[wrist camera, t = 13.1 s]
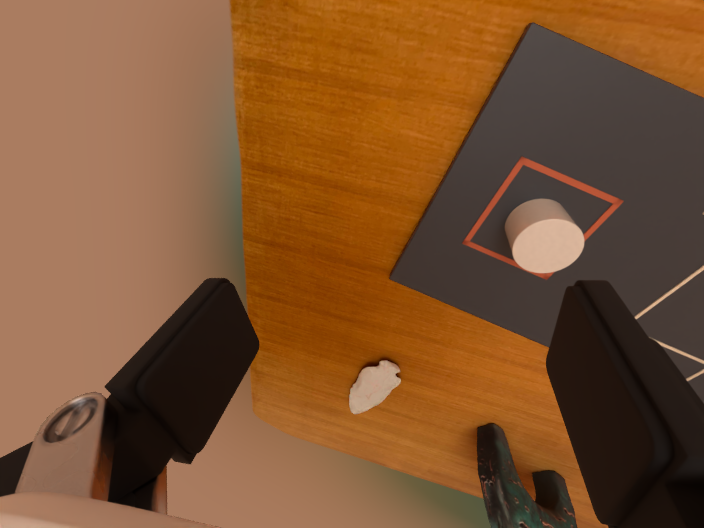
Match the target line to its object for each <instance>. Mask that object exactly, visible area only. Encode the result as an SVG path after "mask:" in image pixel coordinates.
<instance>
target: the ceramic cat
mask: <svg viewBox="0 0 704 528" xmlns="http://www.w3.org/2000/svg"><path fill="white" fill-rule="evenodd" d="M477 456H478V457H477V461H478V475H479V478H480V482H481V487H482V493H483V498H484V502H485V507H486V511H487V515H488V519H489V522H490V525H491V528H577V524H576V519H575V512H574V508H573V506H572V503H571V500H570V497H569V494H568V490H567V487H566V483H565V480H564V478H562V477H561V476H560V475H559V474H558V473H556V472H555V471H550V470H548V471H541V472H536V473H532V477H533V481H534V486H535V493H536V499H535V501H534V500H533V499H532V497H531V496H530V495H529V493H528V492H527V491H526V489H525V488H524V486H523V484H522V482H521V480H520V478H519V476H518V474H517V471H516V468H515V466H514V462H513V459H512V455H511V453H510V449H509V446H508V442H507V439H506V437H505V434H504V431H503V430H502V429H501V428H500V427H499V426H497V425H495V424H493V423H492V424H488V425H486V426H482V427H478V430H477Z"/></svg>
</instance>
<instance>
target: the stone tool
mask: <svg viewBox="0 0 704 528" xmlns="http://www.w3.org/2000/svg"><path fill="white" fill-rule="evenodd" d="M379 363H380V364H379V366H376V367H366V368H364V369H363V370H362V371H361V373H360V374H359V377H358V379H357V381H356V383H355V384H353V388H350V395H349V399H350V400H349V403H350V404H349V406H350V410H351V412H352V413H354V414H359V413H362V412H364V411H368V410H369V409H370V408H373V407H374V406H376V405H378V404H380V403H381V402H382V401H383V400H384V399H385V398H386V397H387V396H388V394H390V392H391V390H392V389H394V388H395V387H396V386H398V385H399V384H400V382H401V379H400V378H398V377H397V376H396V375H395V374H396V373H398V372H400V369H399V367H398V366H397V365H396V364H394V363H391V362H389V361H387V360H385V361H380V362H379Z"/></svg>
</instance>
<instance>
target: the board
mask: <svg viewBox="0 0 704 528" xmlns="http://www.w3.org/2000/svg"><path fill="white" fill-rule="evenodd" d="M534 199H550V200H554V201H556V202H558V203H560V204H561V205H562V206H563V207H564V208H565V209H566V211H567V212H568V213H569V215H570V216H571V217H572V219H573V220H574V221H575V223H576V224H577V225H578V227H579V228H580V229H581V231H582V233H583V235H584V248H583V250H582V252H581V254H580V256H579V257H578V258H577V259H576V260H575V261H574V262H573V263H572V264H570V265H569V266H567V267H565V268H564V269H561V270H559V271H555V272H551V273H534V272H530V271H527V270H525V269H523V268H522V267H520V266H519V265H518V264H517V263H516V261H515V260H514V258H513V255H512V252H511V249H510V246H509V243H508V240H507V237H506V234H505V223H506V220H507V218H508V216H509V215H510V213H511V212H512V211H513V210H514V209H515V208H516V207H518V206H519V205H521V204H523V203H525V202H527V201H530V200H534ZM389 279H390V280H393V281H395V282H397V283H400V284H402V285H404V286H407V287H409V288H411V289H414V290H416V291H418V292H421V293H423V294H425V295H428V296H430V297H432V298H435V299H437V300H439V301H442V302H444V303H446V304H449V305H451V306H453V307H456V308H458V309H460V310H463V311H465V312H468V313H470V314H472V315H475V316H477V317H479V318H482V319H484V320H486V321H489V322H491V323H493V324H496V325H498V326H500V327H503V328H505V329H507V330H510V331H512V332H514V333H517V334H519V335H521V336H524V337H526V338H528V339H531V340H533V341H535V342H538V343H540V344H542V345H545V346H547V347H550V344H551V340H552V336H553V333H554V329H555V326H556V322H557V318H558V315H559V311H560V308H561V304H562V300H563V297H564V293H565V290H566V288H567V287H568V286H574V284H575V282H576V281H578V280H606V281H608V282H609V283H610V284H611V285H612V287H613V288H614V289H615V291H616V292H617V294H618V295H619V296H620V298H621V299H622V301H623V302H624V303H625V305H626V306H627V308H628V309H629V310H630V312H631V313H632V315H633V316H634V317H635V319H636V320H637V322H638V323H639V324H640V326H641V327H642V329H643V330H644V331H645V333H646V334H647V336H648V337H649V338H652V339H653V340H655V341H657V342H658V343H659V344H660V345H661V346H662V347H663V349H664V350H665V351H666V353H667V354H668V355H669V357H670V358H671V360H672V361H673V362H674V364H675V365H676V366H677V368H678V369H679V370H680V372H681V373H682V375H683V376H684V377H685V379H686V380H687V381H688V383H689V384H690V385H691V387H692V388H693V389H694V391H695V392H696V394H697V395H698V396H699V398H700V399H701V400H702V402H703V403H704V98H703V97H700V96H698V95H696V94H694V93H691V92H689V91H687V90H685V89H682V88H680V87H678V86H675V85H673V84H671V83H669V82H666V81H664V80H662V79H660V78H657V77H655V76H653V75H651V74H648V73H646V72H644V71H642V70H639V69H637V68H635V67H633V66H630V65H628V64H626V63H623V62H621V61H619V60H617V59H614V58H612V57H610V56H608V55H605V54H603V53H601V52H599V51H596V50H594V49H592V48H590V47H587V46H585V45H583V44H581V43H578V42H576V41H574V40H571V39H569V38H567V37H565V36H562V35H560V34H558V33H556V32H553V31H551V30H549V29H547V28H544V27H542V26H540V25H538V24H535V23H529V24H528V26H527V28H526V29H525V31H524V33H523V35H522V37H521V38H520V40H519V42H518V44H517V46H516V47H515V49H514V51H513V53H512V55H511V56H510V58H509V60H508V62H507V64H506V66H505V67H504V69H503V71H502V73H501V75H500V76H499V78H498V80H497V82H496V84H495V85H494V87H493V89H492V91H491V93H490V94H489V96H488V98H487V100H486V102H485V104H484V105H483V107H482V109H481V111H480V113H479V114H478V116H477V118H476V120H475V122H474V123H473V125H472V127H471V129H470V131H469V133H468V134H467V136H466V138H465V140H464V142H463V143H462V145H461V147H460V149H459V151H458V152H457V154H456V156H455V158H454V160H453V161H452V163H451V165H450V167H449V169H448V171H447V172H446V174H445V176H444V178H443V180H442V181H441V183H440V185H439V187H438V189H437V190H436V192H435V194H434V196H433V198H432V200H431V201H430V203H429V205H428V207H427V209H426V210H425V212H424V214H423V216H422V218H421V219H420V221H419V223H418V225H417V227H416V228H415V230H414V232H413V234H412V236H411V238H410V239H409V241H408V243H407V245H406V247H405V248H404V250H403V252H402V254H401V256H400V257H399V259H398V261H397V263H396V265H395V267H394V268H393V270H392V272H391V274H390V278H389Z"/></svg>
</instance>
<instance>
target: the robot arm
mask: <svg viewBox="0 0 704 528" xmlns="http://www.w3.org/2000/svg"><path fill="white" fill-rule="evenodd" d="M258 350H259V340H258V338H257V335H256V333H255V331H254V329H253V326H252V324H251V322H250V320H249V318H248V315H247V313H246V311H245V309H244V306H243V304H242V302H241V300H240V298H239V295H238V293H237V291H236V289H235V286H234V285H233V284H232V283H230V281H229V280H227V279H225V278H209V279H206V280H205V281H204V282H203V283H202V284H201V285H200V286H199V287H198V288H197V289H196V290H195V291H194V293H193V294H192V295H191V296H190V297H189V298H188V299H187V300H186V301H185V302H184V303H183V304H182V305H181V306H180V307H179V308H178V310H176V311H175V313H174V314H173V315H172V316H171V317H170V318H169V319H168V320H167V321H166V322H165V323H164V324H163V325H162V326H161V327H160V328H159V329H158V331H157V332H156V333H155V334H154V335H153V336H152V337H151V338H150V339H149V340H148V341H147V342H146V343H145V344H144V345H143V346H142V347H141V348H140V350H139V351H138V352H137V353H136V354H135V355H134V356H133V357H132V358H131V359H130V360H129V361H128V362H127V363H126V364H125V365H124V367H122V369H121V370H120V371H119V372H118V373H117V374H116V375H115V376H114V377H113V378H112V379H111V380H110V381H109V382H108V383H107V384H106V385H105V388H106V389H107V390H108V391H109V392H110V393H111V395H110V396H109V397H108V398H107V399H106V398H105V397H104V396H103V395H102V394H101V393H97V392H91V393H85V394H83V395H80V396H77V397H75V398H73V399H72V400H69V401H67V402H66V403H65V404H63V405H62V406H61V407H59V408H57V409H56V410H55V411H54V412H53V413H52V414H51V415H50V416H49V417H47V419H46V420H45V421H44V422H43V424H42V425H41V426H40V428H39V430H38V431H37V433H36V435H35V438H34V441H33V442H31V443H29V444H27V445H25V446H23V447H21V448H19V449H17V450H15V451H13V452H11V453H9V454H7V455H5V456H3V457H1V458H0V528H221V527H217V526H212V525H208V524H204V523H199V522H195V521H191V520H186V519H182V518H178V517H173V516H169V515H167V474H166V473H167V469H166V468H167V466H166V465H167V463H168V462H169V460H170V458H172V459H173V460H174V461H175V462H181V463H186V464H191V463H192V461H193V459H194V457H195V456H196V454H197V453H199V452H200V451H201V450H202V449H203V448H204V446H205V445H206V443H207V441H208V439H209V438H210V435H211V434H212V432H213V430H214V429H215V427H216V425H217V423H218V422H219V420H220V418H221V416H222V414H223V413H224V411H225V409H226V407H227V405H228V404H229V402H230V400H231V398H232V397H233V395H234V393H235V391H236V389H237V388H238V386H239V384H240V382H241V381H242V379H243V377H244V375H245V374H246V372H247V370H248V368H249V366H250V365H251V363H252V361H253V359H254V358H255V356H256V354H257V352H258ZM546 368H547V372H548V376H549V379H550V382H551V384H552V387H553V390H554V393H555V396H556V399H557V402H558V405H559V408H560V411H561V414H562V417H563V420H564V423H565V426H566V429H567V432H568V435H569V438H570V441H571V444H572V447H573V450H574V453H575V456H576V459H577V462H578V464H579V467H580V470H581V473H582V476H583V479H584V482H585V485H586V488H587V491H588V494H589V497H590V500H591V503H592V506H593V509H594V512H595V514H596V516H597V518H598V520H599V521H600V522H601V523H602V524H606V525H608V527H609V528H704V403H703V402H702V400H701V399H700V398H699V396H698V395H697V394H696V392H695V391H694V389H693V388H692V387H691V385H690V384H689V383H688V381H687V380H686V379H685V377H684V376H683V375H682V373H681V372H680V370H679V369H678V368H677V366H676V365H675V364H674V362H673V361H672V360H671V358H670V357H669V355H668V354H667V353H666V351H665V350H664V349H663V347H662V346H661V345H660V344H659V343H658V342H657V341H655V340H653V339H652V338H649V337H648V336H647V334H646V333H645V331H644V330H643V329H642V327H641V326H640V324H639V323H638V322H637V320H636V319H635V317H634V316H633V315H632V313H631V312H630V310H629V309H628V308H627V306H626V305H625V303H624V302H623V301H622V299H621V298H620V296H619V295H618V294H617V292H616V291H615V289H614V288H613V287H612V285H611V284H610V283H609V282H608V281H606V280H578V281H576V282H575V284H574V286H568V287H567V288H566V290H565V293H564V297H563V300H562V304H561V308H560V311H559V315H558V318H557V322H556V326H555V329H554V333H553V336H552V340H551V344H550V347H549V351H548V354H547V358H546Z"/></svg>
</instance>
